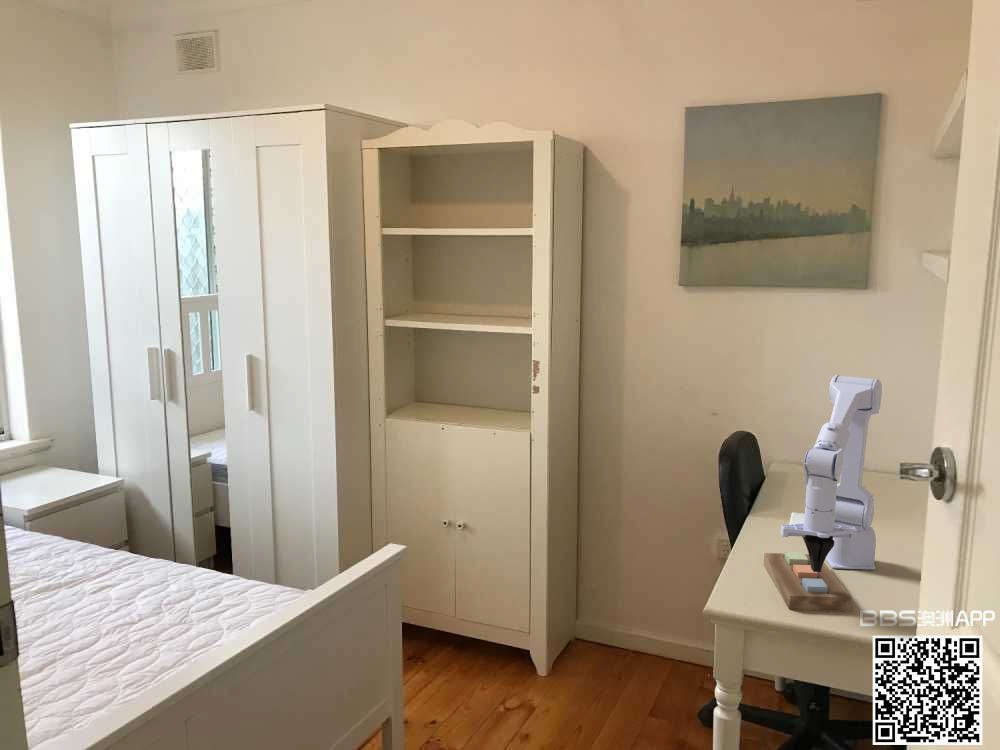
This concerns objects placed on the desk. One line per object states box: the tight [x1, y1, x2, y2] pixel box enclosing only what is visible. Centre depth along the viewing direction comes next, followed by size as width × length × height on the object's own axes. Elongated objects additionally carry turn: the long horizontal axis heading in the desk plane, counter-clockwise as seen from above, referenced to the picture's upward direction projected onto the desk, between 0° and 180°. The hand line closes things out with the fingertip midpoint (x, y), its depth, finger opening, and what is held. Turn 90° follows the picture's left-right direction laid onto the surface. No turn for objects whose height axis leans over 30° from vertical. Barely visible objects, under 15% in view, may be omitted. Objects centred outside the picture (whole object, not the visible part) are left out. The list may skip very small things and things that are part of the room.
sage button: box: [784, 551, 808, 565], centre depth 181 cm, size 4×4×2 cm
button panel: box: [763, 552, 852, 613], centre depth 175 cm, size 12×22×3 cm, turn 175°
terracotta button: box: [793, 565, 818, 579], centre depth 174 cm, size 4×4×2 cm
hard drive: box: [788, 511, 805, 525], centre depth 211 cm, size 2×8×12 cm
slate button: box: [802, 578, 828, 593], centre depth 168 cm, size 4×4×2 cm
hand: (815, 570), depth 167 cm, fingers closed
